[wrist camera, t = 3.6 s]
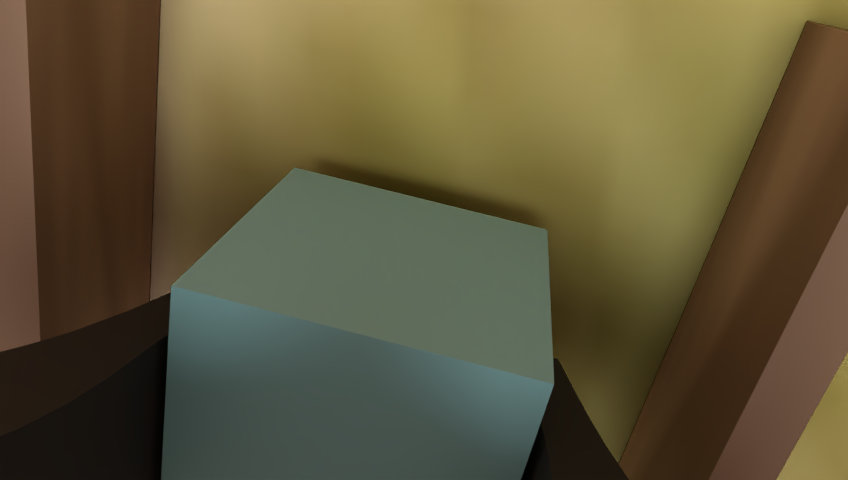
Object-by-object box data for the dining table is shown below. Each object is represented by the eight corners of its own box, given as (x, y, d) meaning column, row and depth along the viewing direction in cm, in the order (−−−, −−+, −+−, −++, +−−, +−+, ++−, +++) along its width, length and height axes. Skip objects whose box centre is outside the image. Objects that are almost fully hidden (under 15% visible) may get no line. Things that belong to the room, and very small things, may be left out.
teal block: (547, 229, 13) (554, 384, 9) (485, 431, 15) (464, 642, 11) (294, 167, 13) (170, 285, 9) (268, 374, 15) (156, 556, 11)
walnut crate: (863, 33, 12) (1003, 74, 9) (620, 559, 18) (642, 718, 14) (113, -137, 13) (-52, -166, 9) (108, 422, 19) (5, 540, 15)
